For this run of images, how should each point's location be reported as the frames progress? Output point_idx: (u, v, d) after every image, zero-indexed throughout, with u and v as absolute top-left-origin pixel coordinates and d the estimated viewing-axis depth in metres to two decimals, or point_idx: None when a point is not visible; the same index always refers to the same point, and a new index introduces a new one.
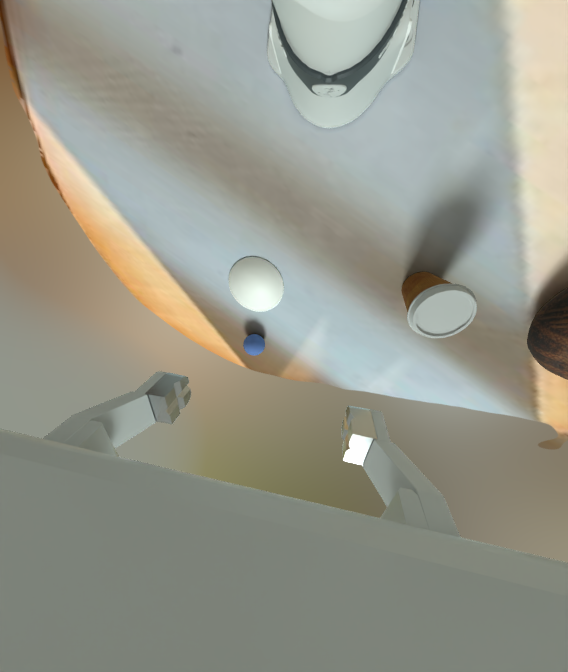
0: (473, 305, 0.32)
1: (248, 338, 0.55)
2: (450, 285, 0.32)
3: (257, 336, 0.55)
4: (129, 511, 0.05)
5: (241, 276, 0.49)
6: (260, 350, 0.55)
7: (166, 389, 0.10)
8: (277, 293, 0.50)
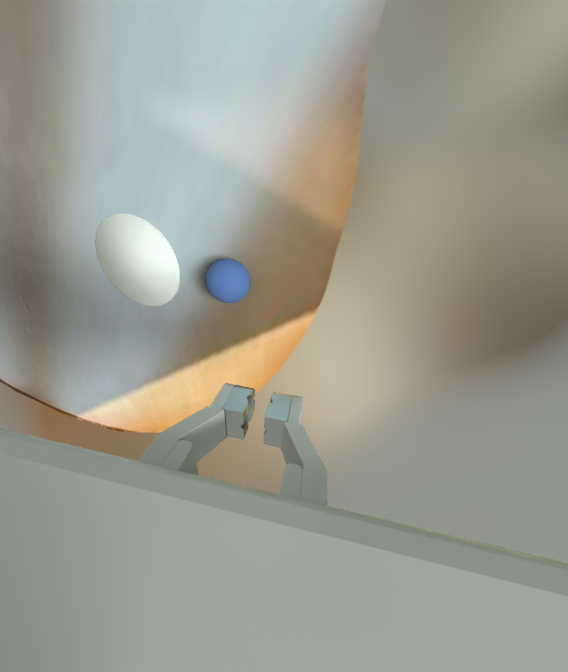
0: None
1: None
2: None
3: None
4: (129, 511, 0.05)
5: (131, 284, 0.34)
6: (223, 267, 0.25)
7: (241, 403, 0.09)
8: (136, 226, 0.29)
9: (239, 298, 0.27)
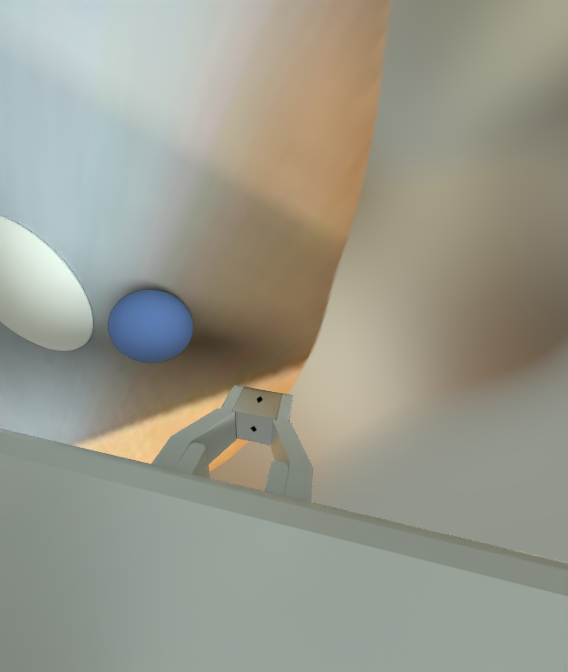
0: None
1: None
2: None
3: None
4: (129, 511, 0.05)
5: (24, 320, 0.22)
6: (132, 309, 0.14)
7: (251, 405, 0.09)
8: (5, 233, 0.18)
9: (171, 356, 0.16)
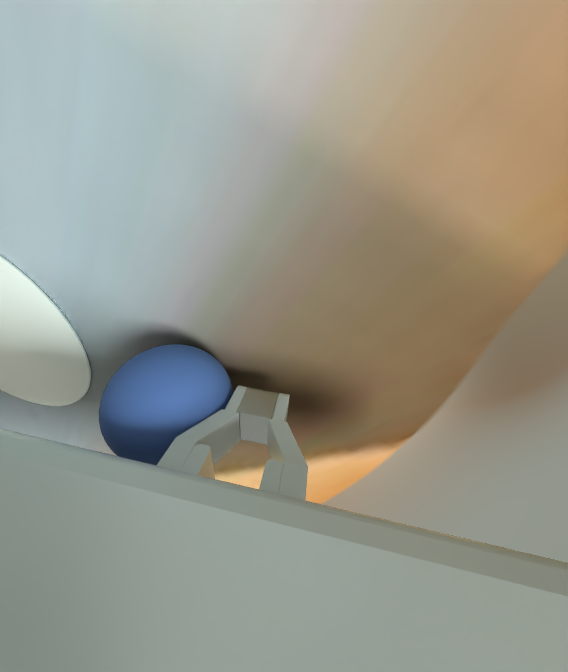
0: None
1: None
2: None
3: None
4: (129, 511, 0.05)
5: None
6: (131, 394, 0.08)
7: (255, 406, 0.09)
8: None
9: None
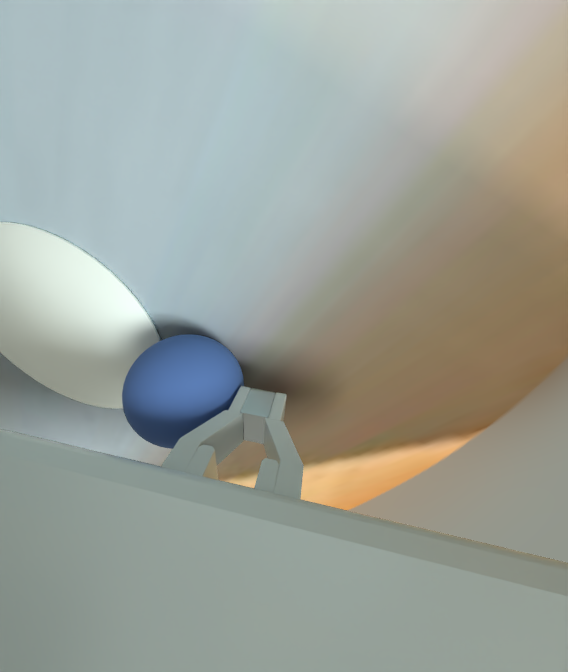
0: None
1: None
2: None
3: None
4: (129, 511, 0.05)
5: (60, 372, 0.16)
6: (141, 367, 0.09)
7: (259, 407, 0.09)
8: (44, 255, 0.11)
9: None
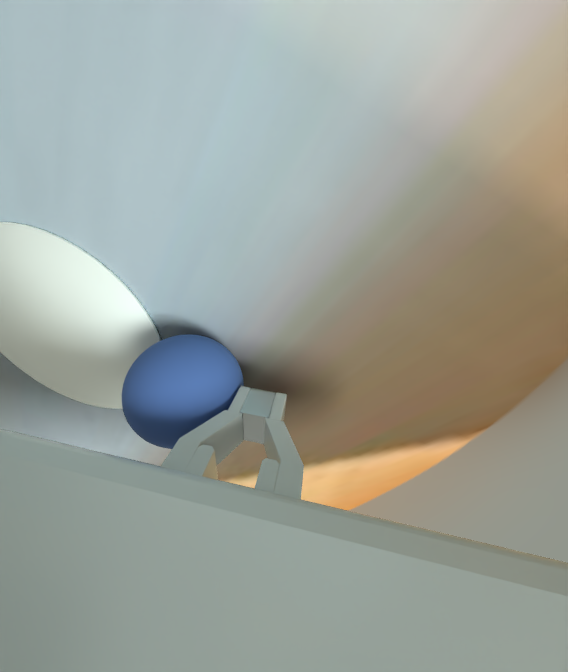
0: None
1: None
2: None
3: None
4: (129, 511, 0.05)
5: (60, 372, 0.16)
6: (141, 368, 0.09)
7: (259, 407, 0.09)
8: (44, 255, 0.11)
9: None
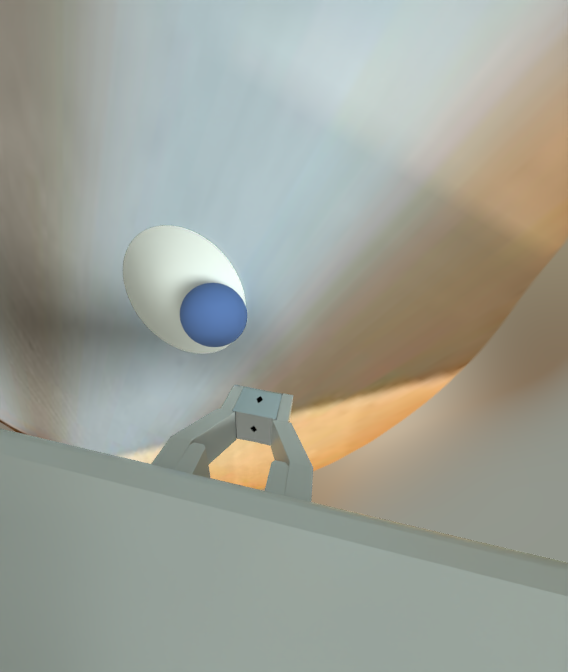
0: None
1: None
2: None
3: (244, 306, 0.19)
4: (129, 511, 0.05)
5: (171, 325, 0.23)
6: None
7: (251, 405, 0.09)
8: (186, 244, 0.19)
9: None
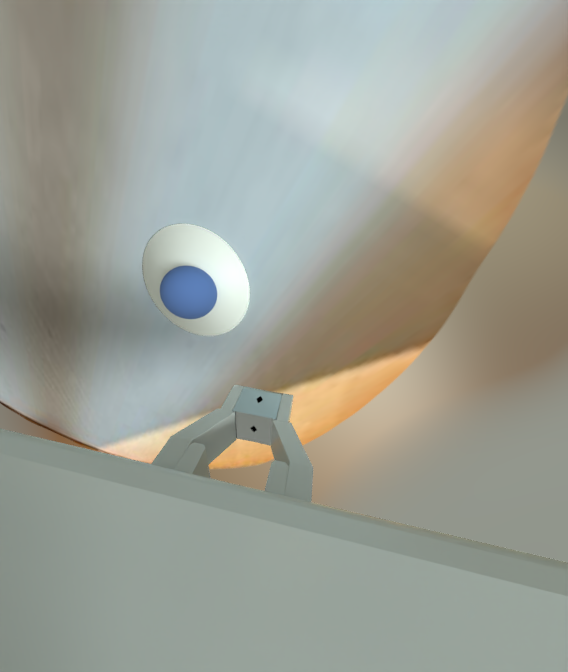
0: None
1: (203, 311, 0.22)
2: None
3: (191, 293, 0.20)
4: (129, 511, 0.05)
5: None
6: (205, 272, 0.23)
7: (251, 405, 0.09)
8: (200, 240, 0.22)
9: None
